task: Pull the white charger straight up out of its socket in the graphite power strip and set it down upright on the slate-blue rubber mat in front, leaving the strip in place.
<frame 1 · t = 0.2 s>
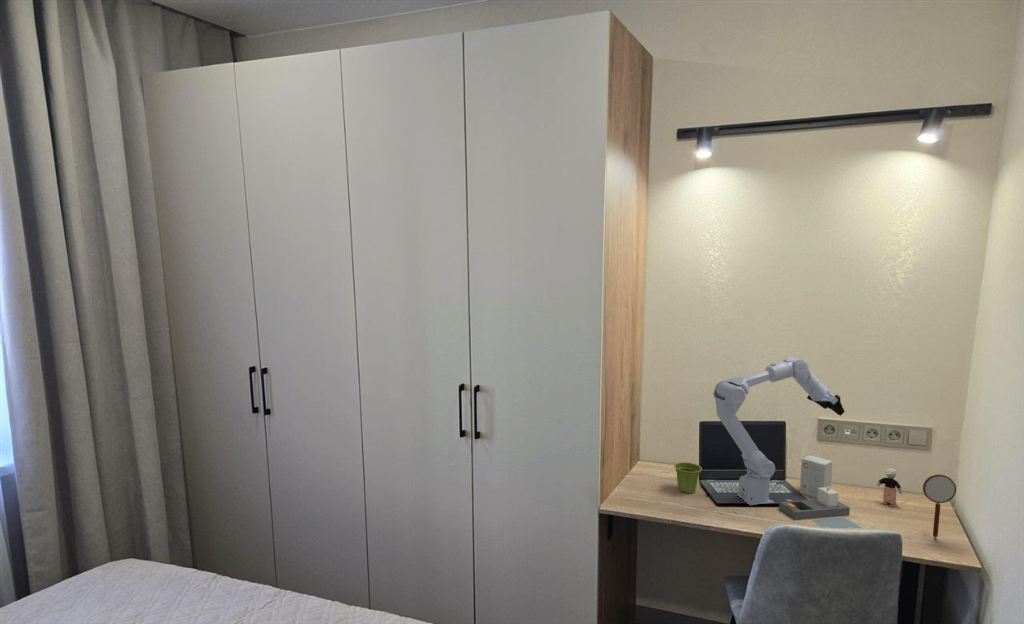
hand: (834, 410, 205), 31 cm above the table, tool tilted 45°, fingers open, 7 cm apart
plant pot: (687, 490, 211), on the table
grandmother figurine: (888, 504, 202), on the table
magnifying glass: (934, 539, 177), on the table
mat: (839, 527, 184), on the table
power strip: (813, 514, 194), on the table, touching charger
small box: (814, 495, 208), on the table
charger: (826, 510, 194), point 1 cm above the table, touching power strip
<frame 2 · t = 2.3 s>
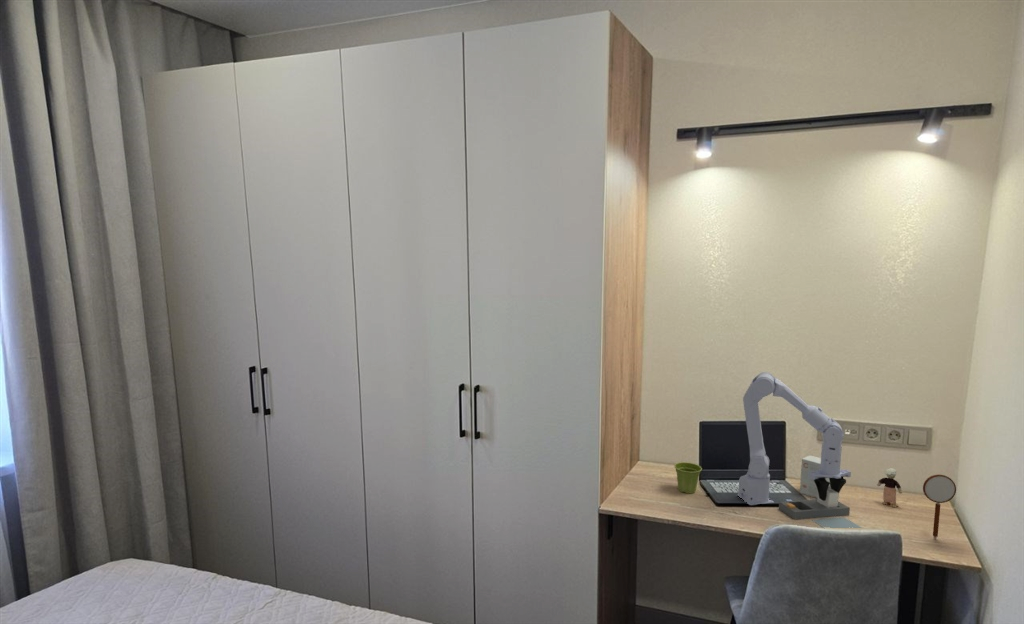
hand: (827, 498, 194), 5 cm above the table, tool pointing down, fingers closed on charger, 4 cm apart
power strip: (813, 514, 194), on the table
charger: (826, 510, 194), point 1 cm above the table, touching gripper
everything else where it was.
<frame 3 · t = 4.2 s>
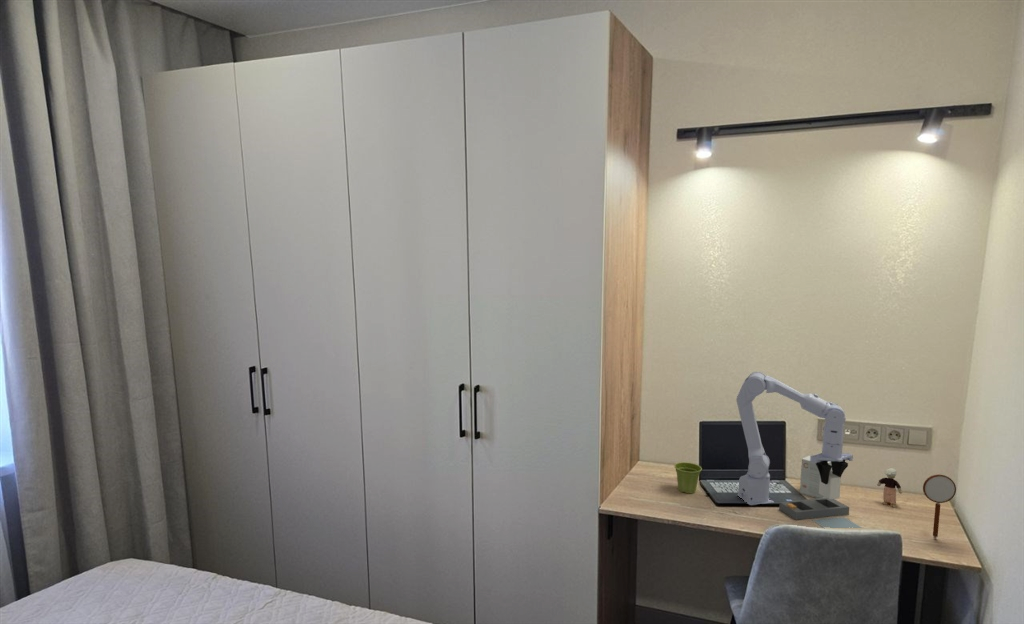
hand: (829, 482, 193), 10 cm above the table, tool pointing down, fingers closed on charger, 4 cm apart
charger: (829, 495, 193), point 6 cm above the table, touching gripper
everything else where it was.
when the fingers open (5 cm above the table, at t = 6.1 s): charger stays where it is, resting on mat.
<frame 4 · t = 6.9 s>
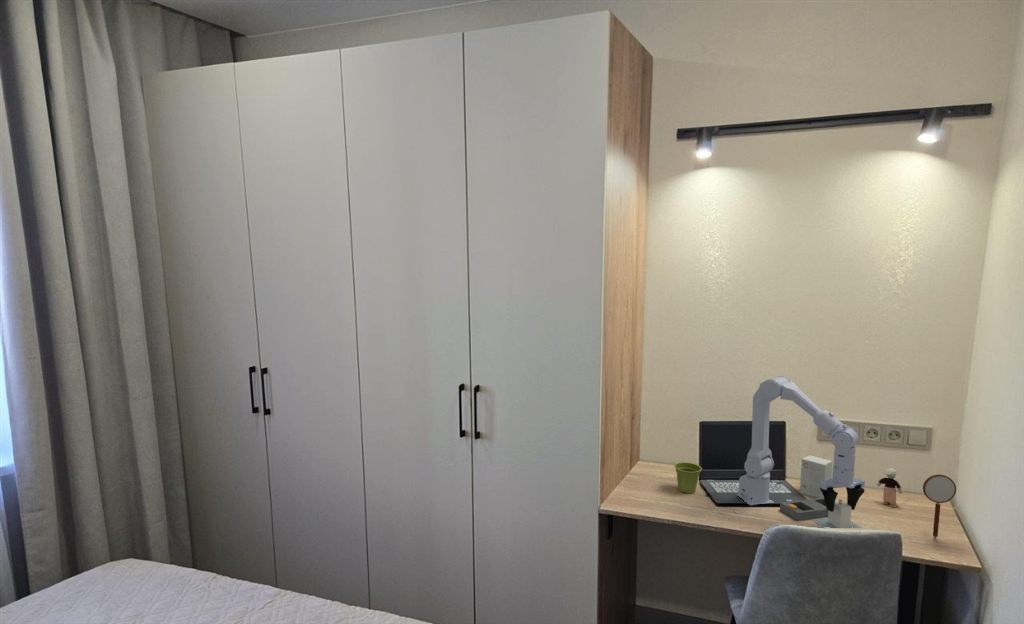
hand: (840, 509, 183), 6 cm above the table, tool pointing down, fingers open, 7 cm apart
charger: (838, 525, 184), resting on mat
everything else where it was.
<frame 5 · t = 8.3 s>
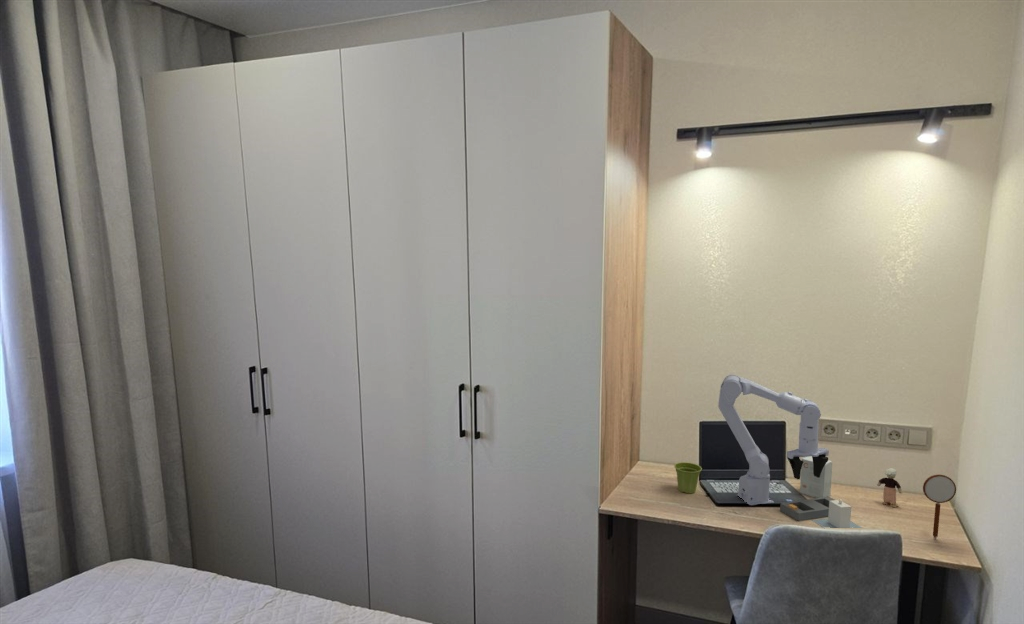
hand: (806, 477, 197), 10 cm above the table, tool pointing down, fingers open, 7 cm apart
nothing on the table moved.
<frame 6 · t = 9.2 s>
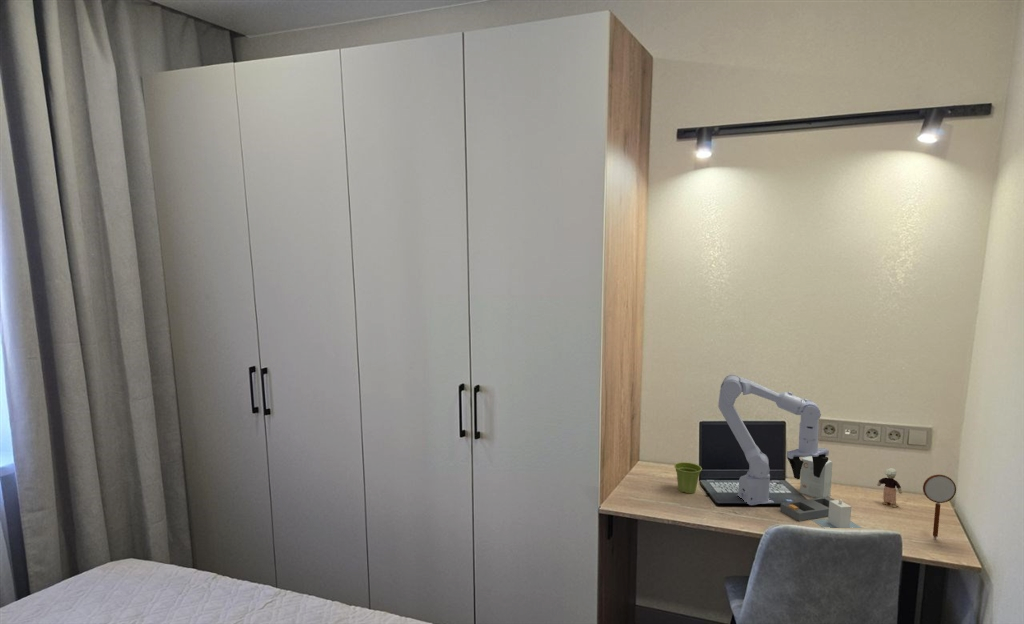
hand: (806, 477, 197), 10 cm above the table, tool pointing down, fingers open, 7 cm apart
nothing on the table moved.
at the end: charger inside the target area on the mat (0.3 cm from its centre), point 0.5 cm above the mat's base; charger tilted 0°; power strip moved 0.5 cm from its start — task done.
